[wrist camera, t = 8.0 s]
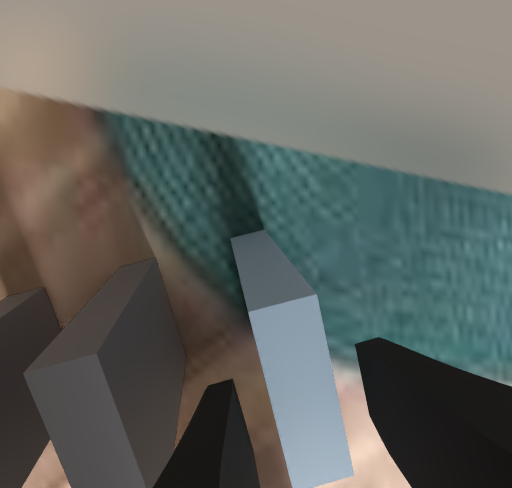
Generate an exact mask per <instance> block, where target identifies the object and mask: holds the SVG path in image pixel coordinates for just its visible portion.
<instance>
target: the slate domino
mask: <svg viewBox="0 0 512 488" xmlns="http://www.w3.org/2000/svg"><path fill="white" fill-rule="evenodd" d="M230 240H231V244H232V248H233V252H234V256H235V260H236V264H237V268H238V273H239V277H240V281H241V285H242V289H243V293H244V297H245V301H246V306H247V310H248V314H249V318H250V322H251V326H252V330H253V334H254V338H255V342H256V346H257V349H258V353H259V357H260V361H261V365H262V369H263V373H264V377H265V381H266V385H267V389H268V393H269V397H270V401H271V405H272V409H273V413H274V417H275V421H276V425H277V429H278V433H279V437H280V441H281V445H282V449H283V453H284V457H285V461H286V465H287V469H288V473H289V477H290V481H291V485H292V488H313V487H316V486H319V485H323V484H326V483H330V482H333V481H337V480H340V479H343V478H347V477H350V476H354V472H353V467H352V462H351V457H350V453H349V448H348V443H347V438H346V433H345V428H344V423H343V419H342V414H341V409H340V404H339V399H338V394H337V389H336V385H335V380H334V375H333V370H332V365H331V360H330V356H329V351H328V346H327V341H326V336H325V331H324V326H323V322H322V317H321V312H320V307H319V302H318V297H317V294H316V292H315V291H314V290H313V289H312V288H311V286H310V285H309V284H308V283H307V281H306V280H305V279H304V278H303V276H302V275H301V274H300V273H299V272H298V270H297V269H296V268H295V267H294V265H293V264H292V263H291V262H290V261H289V259H288V258H287V257H286V256H285V254H284V253H283V252H282V251H281V250H280V248H279V247H278V246H277V245H276V243H275V242H274V241H273V240H272V238H271V237H270V236H269V235H268V234H267V232H266V231H265V230H261V231H257V232H253V233H249V234H245V235H241V236H237V237H233V238H230Z"/></svg>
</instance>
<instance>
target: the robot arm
mask: <svg viewBox="0 0 512 488" xmlns="http://www.w3.org/2000/svg"><path fill="white" fill-rule="evenodd" d="M355 347H356V351H357V356H358V361H359V366H360V371H361V376H362V381H363V386H364V391H365V396H366V401H367V406H368V411H369V415H370V417H371V419H372V421H373V423H374V425H375V427H376V429H377V431H378V433H379V435H380V437H381V439H382V441H383V443H384V445H385V447H386V448H387V450H388V452H389V454H390V456H391V457H392V459H393V460H394V462H395V463H396V465H397V466H398V468H399V469H400V471H401V472H402V474H403V475H404V477H405V478H406V480H407V481H408V483H409V484H410V486H411V487H412V488H512V387H511V386H508V385H505V384H502V383H499V382H496V381H493V380H490V379H487V378H484V377H481V376H478V375H475V374H472V373H469V372H466V371H463V370H461V369H458V368H455V367H452V366H450V365H447V364H445V363H442V362H440V361H437V360H434V359H432V358H430V357H427V356H425V355H422V354H420V353H417V352H415V351H412V350H410V349H408V348H405V347H403V346H400V345H398V344H395V343H393V342H390V341H388V340H385V339H382V338H379V337H378V338H374V339H371V340H367V341H364V342H360V343H357V344H355ZM152 488H260V485H259V480H258V474H257V468H256V463H255V457H254V452H253V448H252V444H251V441H250V437H249V434H248V430H247V427H246V423H245V420H244V416H243V413H242V409H241V406H240V402H239V399H238V395H237V392H236V388H235V385H234V381H233V379H230V380H226V381H223V382H219V383H216V384H212V385H209V386H208V387H207V388H206V390H205V392H204V394H203V396H202V398H201V400H200V402H199V405H198V407H197V409H196V411H195V413H194V415H193V417H192V419H191V421H190V423H189V425H188V427H187V429H186V431H185V432H184V434H183V436H182V438H181V440H180V442H179V444H178V446H177V447H176V449H175V451H174V453H173V455H172V456H171V458H170V460H169V461H168V463H167V465H166V466H165V468H164V469H163V471H162V473H161V474H160V476H159V478H158V479H157V481H156V483H155V484H154V486H153V487H152Z"/></svg>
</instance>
